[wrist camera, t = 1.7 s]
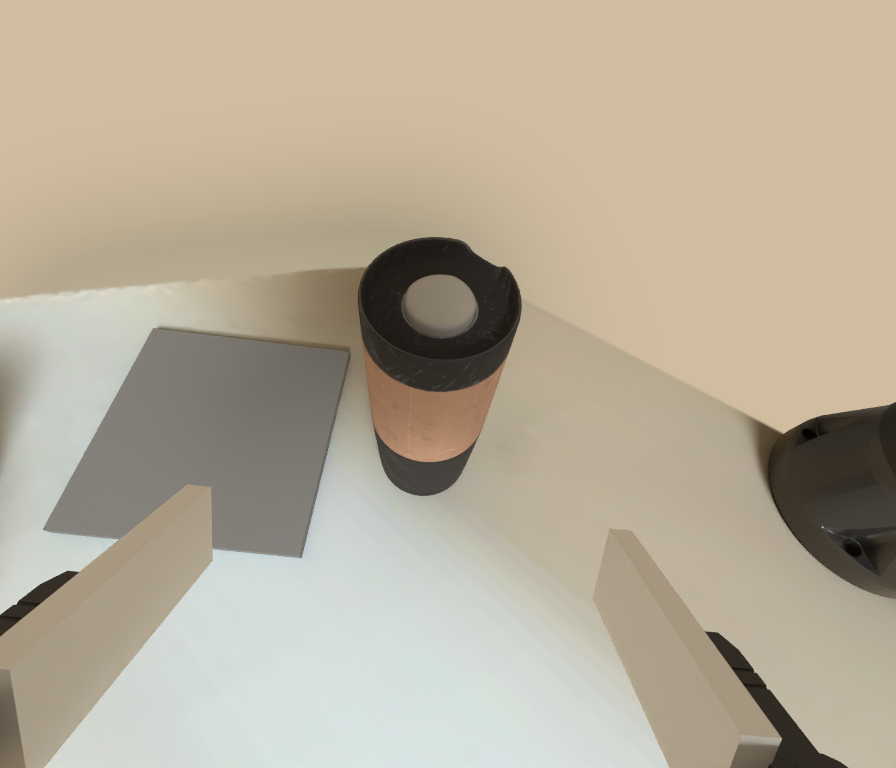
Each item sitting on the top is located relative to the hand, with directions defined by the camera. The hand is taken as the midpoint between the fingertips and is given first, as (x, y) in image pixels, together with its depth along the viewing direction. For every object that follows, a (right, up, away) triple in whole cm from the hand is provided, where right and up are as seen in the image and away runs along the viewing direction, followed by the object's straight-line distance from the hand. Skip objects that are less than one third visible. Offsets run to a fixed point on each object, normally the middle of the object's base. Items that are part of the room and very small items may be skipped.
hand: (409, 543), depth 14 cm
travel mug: (-1, -1, +23) cm, 22 cm away
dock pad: (-18, +1, +22) cm, 28 cm away
